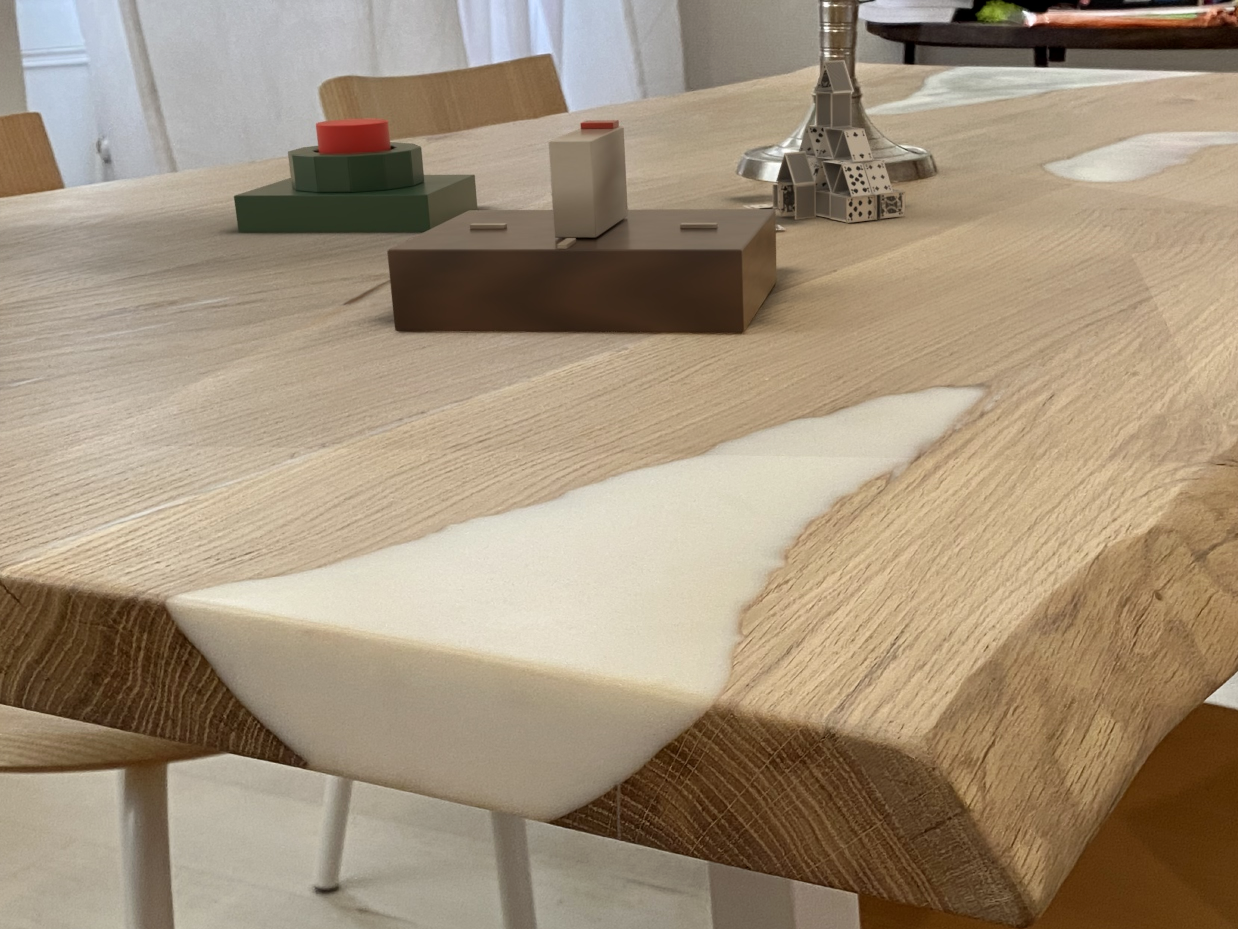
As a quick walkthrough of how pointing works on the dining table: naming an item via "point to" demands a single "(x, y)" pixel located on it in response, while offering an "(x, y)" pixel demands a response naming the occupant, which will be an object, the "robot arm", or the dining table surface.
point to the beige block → (588, 179)
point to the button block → (356, 194)
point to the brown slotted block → (586, 273)
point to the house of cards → (834, 164)
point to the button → (353, 136)
